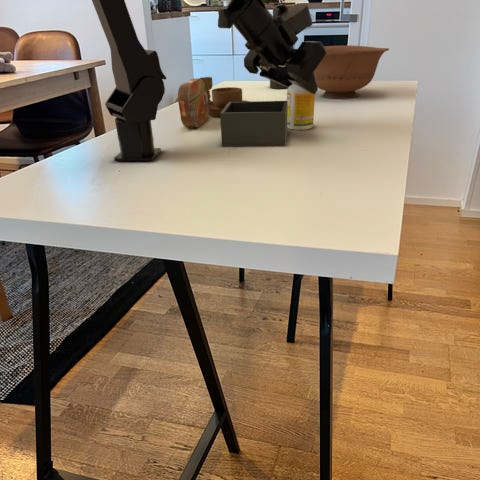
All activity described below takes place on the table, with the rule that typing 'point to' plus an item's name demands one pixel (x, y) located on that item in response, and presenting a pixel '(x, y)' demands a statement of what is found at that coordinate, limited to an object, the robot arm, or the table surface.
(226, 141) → the bin
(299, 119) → the supplement bottle
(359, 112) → the table surface
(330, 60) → the bowl
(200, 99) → the tin
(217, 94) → the place setting
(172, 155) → the table surface
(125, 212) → the table surface
